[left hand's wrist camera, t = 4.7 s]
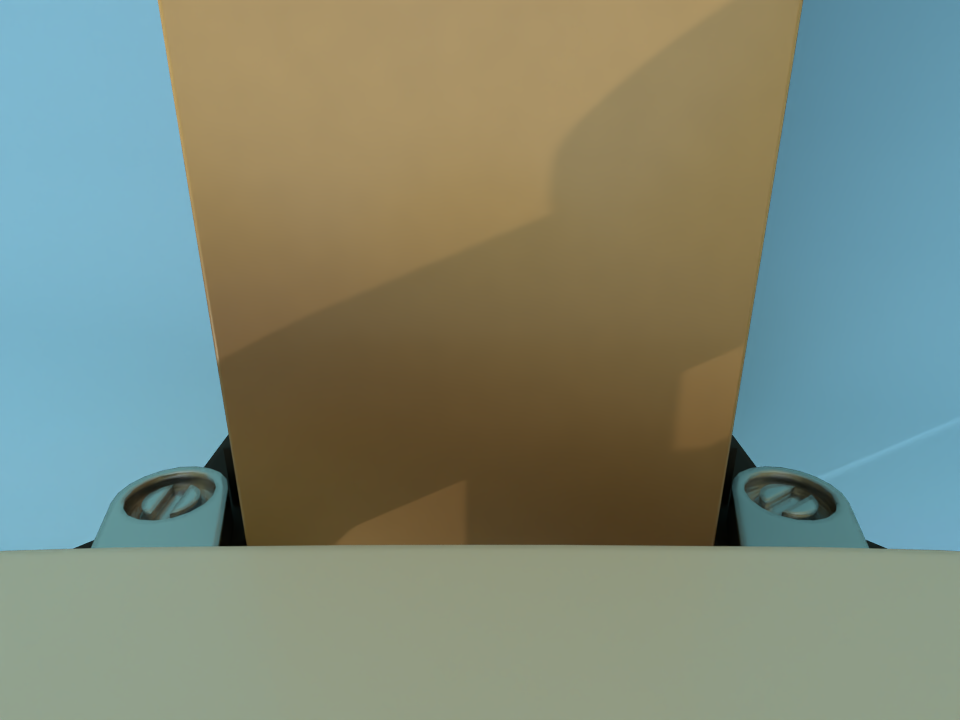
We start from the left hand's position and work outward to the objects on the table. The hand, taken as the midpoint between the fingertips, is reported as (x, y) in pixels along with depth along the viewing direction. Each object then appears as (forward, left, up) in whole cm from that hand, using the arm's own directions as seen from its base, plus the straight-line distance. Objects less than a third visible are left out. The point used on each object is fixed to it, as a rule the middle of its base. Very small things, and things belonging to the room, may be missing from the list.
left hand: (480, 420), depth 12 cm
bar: (+23, -5, -2) cm, 24 cm away
